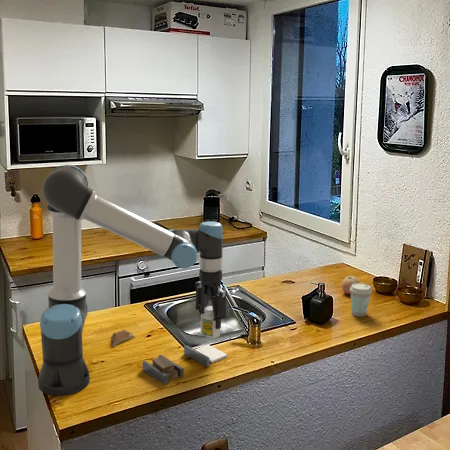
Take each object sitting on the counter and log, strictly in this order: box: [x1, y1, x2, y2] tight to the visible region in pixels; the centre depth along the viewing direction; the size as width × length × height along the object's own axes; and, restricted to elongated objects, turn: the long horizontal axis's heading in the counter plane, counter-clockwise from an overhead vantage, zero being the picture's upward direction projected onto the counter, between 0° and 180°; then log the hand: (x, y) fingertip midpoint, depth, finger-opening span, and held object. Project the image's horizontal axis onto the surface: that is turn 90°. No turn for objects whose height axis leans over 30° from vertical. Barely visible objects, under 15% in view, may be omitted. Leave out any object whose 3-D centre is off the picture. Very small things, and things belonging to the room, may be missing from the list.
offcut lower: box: [150, 363, 179, 382], centre depth 175 cm, size 4×9×2 cm, turn 41°
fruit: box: [341, 275, 360, 296], centre depth 247 cm, size 8×8×8 cm
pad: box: [194, 344, 228, 364], centre depth 188 cm, size 7×10×1 cm
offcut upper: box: [152, 355, 174, 373], centre depth 174 cm, size 4×7×2 cm, turn 34°
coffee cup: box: [350, 283, 373, 318], centre depth 224 cm, size 9×8×12 cm
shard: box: [111, 329, 136, 348], centre depth 198 cm, size 11×8×2 cm
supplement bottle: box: [201, 305, 214, 339], centre depth 185 cm, size 5×5×10 cm
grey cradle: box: [141, 344, 210, 386], centre depth 178 cm, size 18×12×3 cm, turn 133°
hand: (210, 333), depth 186 cm, fingers closed on supplement bottle, 5 cm apart
